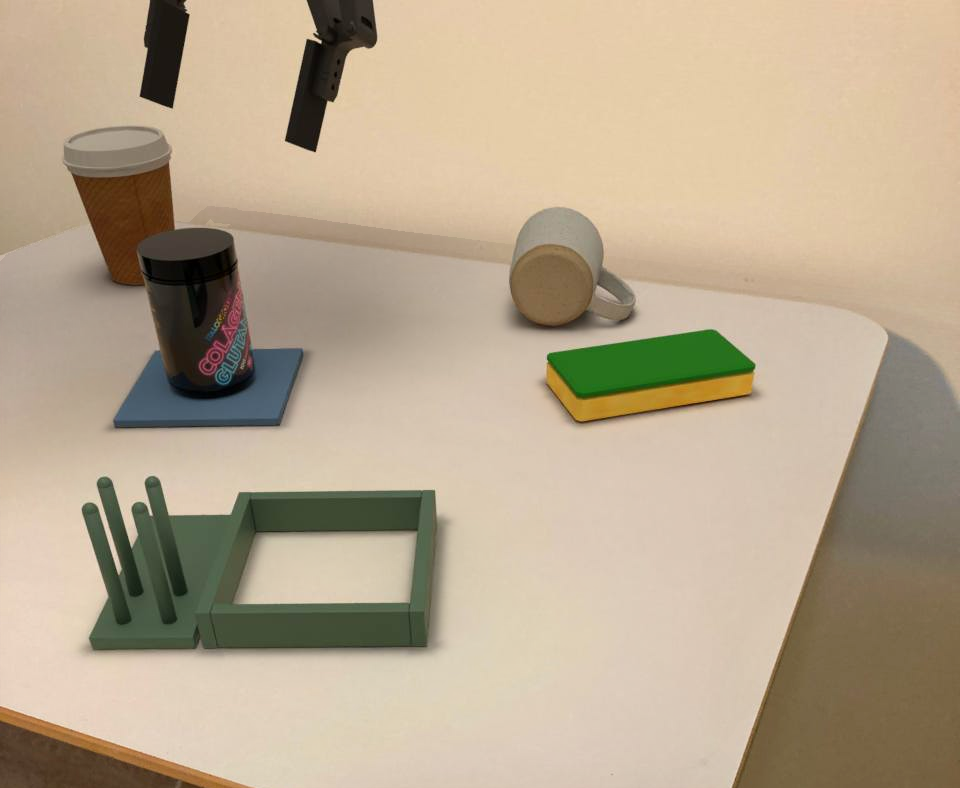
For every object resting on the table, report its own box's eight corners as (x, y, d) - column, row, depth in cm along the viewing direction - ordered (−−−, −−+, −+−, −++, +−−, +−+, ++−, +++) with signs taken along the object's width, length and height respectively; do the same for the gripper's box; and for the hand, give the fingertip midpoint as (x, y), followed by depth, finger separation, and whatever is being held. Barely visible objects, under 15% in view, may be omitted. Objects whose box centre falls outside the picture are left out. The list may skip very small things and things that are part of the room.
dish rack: (91, 649, 56) (48, 520, 50) (149, 525, 65) (117, 406, 60) (426, 646, 55) (417, 516, 50) (437, 522, 64) (430, 401, 59)
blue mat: (114, 427, 75) (112, 420, 75) (156, 357, 84) (155, 350, 84) (279, 425, 75) (278, 417, 74) (303, 354, 84) (302, 347, 84)
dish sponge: (753, 395, 77) (758, 364, 75) (577, 424, 74) (578, 392, 72) (710, 356, 82) (714, 327, 80) (544, 382, 79) (545, 351, 78)
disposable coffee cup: (104, 258, 103) (71, 126, 95) (201, 253, 103) (176, 121, 95) (83, 294, 95) (45, 154, 88) (187, 289, 96) (159, 150, 88)
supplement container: (189, 410, 76) (158, 267, 69) (154, 378, 80) (121, 241, 73) (273, 385, 79) (250, 245, 72) (234, 355, 83) (210, 221, 76)
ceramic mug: (505, 329, 87) (507, 236, 82) (515, 292, 93) (516, 203, 88) (633, 335, 86) (642, 241, 81) (634, 297, 92) (642, 207, 87)
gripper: (480, -165, 67) (394, 178, 74) (189, -213, 76) (137, 99, 83) (424, -229, 60) (335, 154, 68) (112, -274, 69) (62, 71, 76)
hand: (226, 124), depth 75 cm, fingers open, 13 cm apart
